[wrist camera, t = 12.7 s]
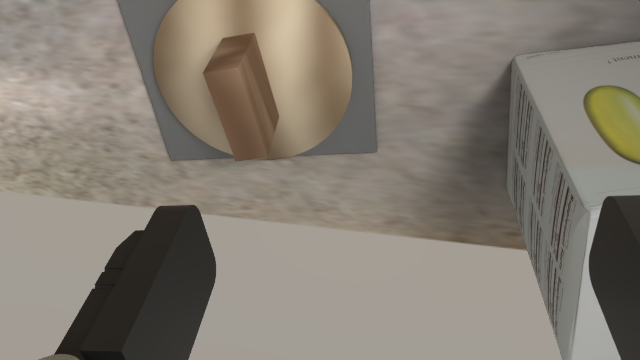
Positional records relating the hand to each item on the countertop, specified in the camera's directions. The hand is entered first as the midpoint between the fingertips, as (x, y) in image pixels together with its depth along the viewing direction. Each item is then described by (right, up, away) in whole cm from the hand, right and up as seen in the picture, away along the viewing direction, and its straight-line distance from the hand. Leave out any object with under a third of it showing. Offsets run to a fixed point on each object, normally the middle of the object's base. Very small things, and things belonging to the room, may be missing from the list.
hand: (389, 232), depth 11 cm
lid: (-6, +9, +30) cm, 32 cm away
